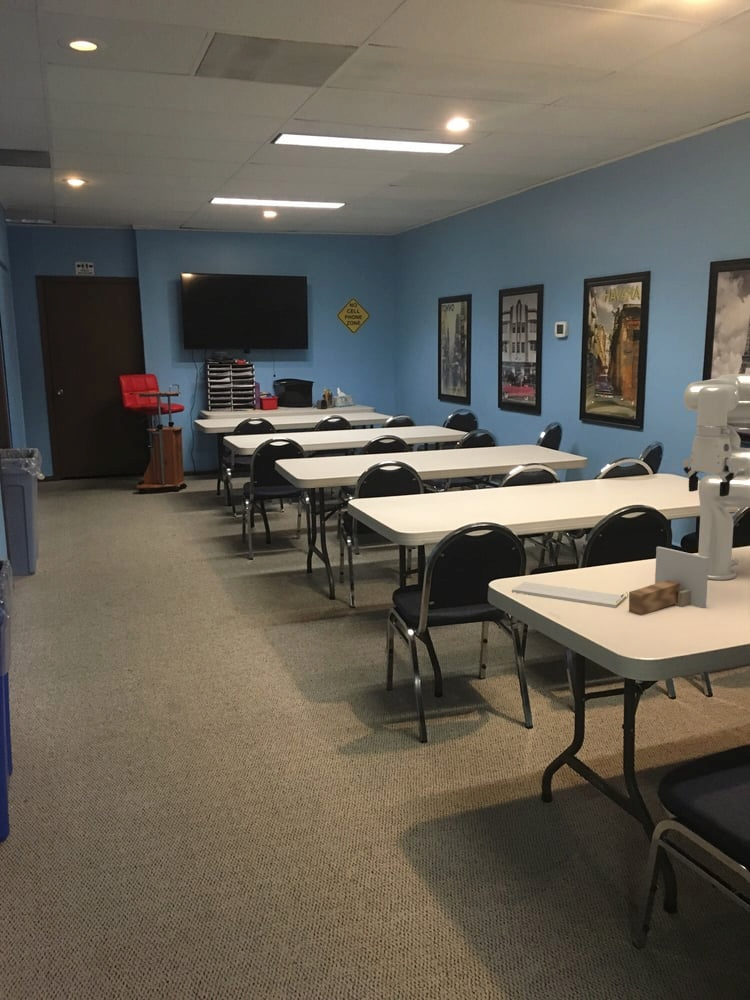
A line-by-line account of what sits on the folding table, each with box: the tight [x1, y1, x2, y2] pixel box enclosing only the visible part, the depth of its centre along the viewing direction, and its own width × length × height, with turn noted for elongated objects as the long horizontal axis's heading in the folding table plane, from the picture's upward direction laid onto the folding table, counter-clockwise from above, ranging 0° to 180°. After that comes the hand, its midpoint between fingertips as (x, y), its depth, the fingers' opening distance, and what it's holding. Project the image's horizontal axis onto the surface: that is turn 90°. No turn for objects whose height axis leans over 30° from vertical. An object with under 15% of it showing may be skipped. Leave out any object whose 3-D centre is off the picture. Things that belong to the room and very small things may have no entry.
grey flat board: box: [511, 581, 629, 609], centre depth 227 cm, size 31×3×12 cm
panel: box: [654, 546, 709, 609], centre depth 217 cm, size 5×16×14 cm, turn 32°
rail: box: [628, 580, 680, 616], centre depth 213 cm, size 16×4×6 cm, turn 122°
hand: (708, 493), depth 216 cm, fingers open, 9 cm apart
